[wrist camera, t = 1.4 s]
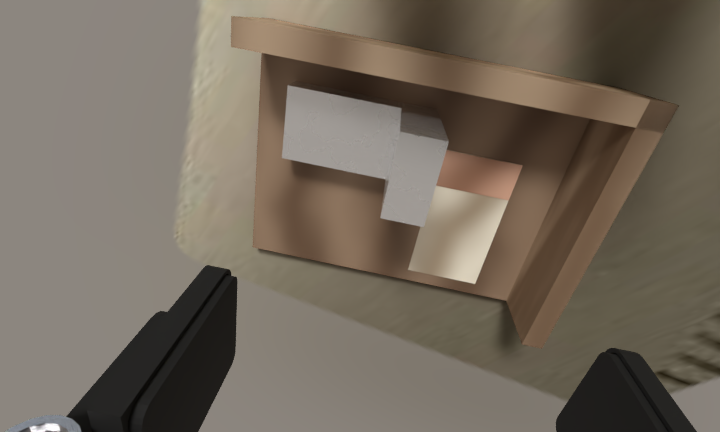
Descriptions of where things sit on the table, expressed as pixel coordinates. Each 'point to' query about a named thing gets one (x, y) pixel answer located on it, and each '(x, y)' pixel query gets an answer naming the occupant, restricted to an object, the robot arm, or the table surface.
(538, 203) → the tray
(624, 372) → the robot arm
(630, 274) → the table surface
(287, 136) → the bracket
